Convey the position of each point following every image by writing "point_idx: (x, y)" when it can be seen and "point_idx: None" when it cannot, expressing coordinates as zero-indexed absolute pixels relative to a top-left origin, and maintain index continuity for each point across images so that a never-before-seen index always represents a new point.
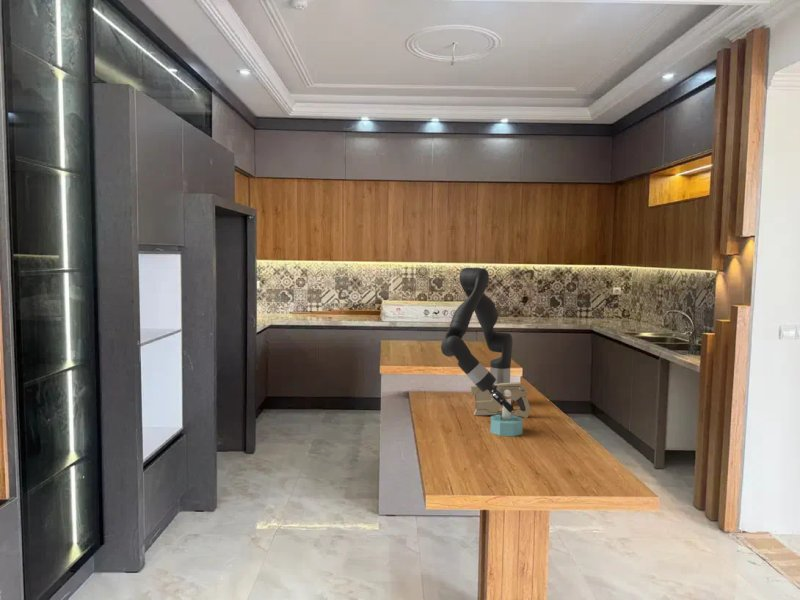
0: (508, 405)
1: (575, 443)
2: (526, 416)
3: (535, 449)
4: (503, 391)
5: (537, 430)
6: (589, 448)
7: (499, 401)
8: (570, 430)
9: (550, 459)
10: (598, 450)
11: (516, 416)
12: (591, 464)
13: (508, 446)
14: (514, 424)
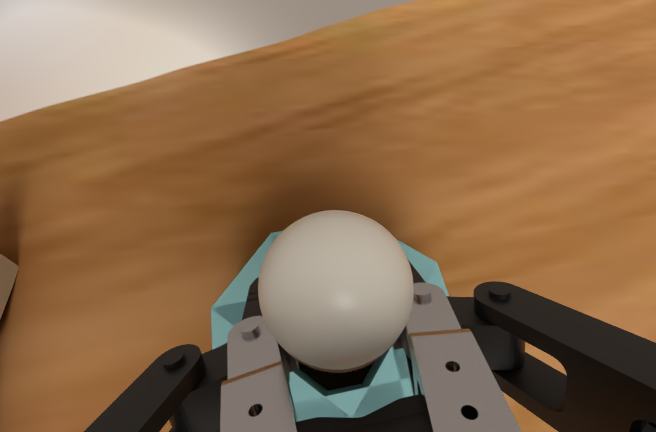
0: (420, 279)
1: (384, 55)
2: (10, 269)
3: (552, 162)
4: (343, 355)
5: (257, 189)
6: (418, 21)
7: (536, 390)
8: (218, 80)
9: (631, 104)
10: (424, 3)
11: (245, 272)
12: (577, 10)
13: (601, 280)
14: (426, 259)
